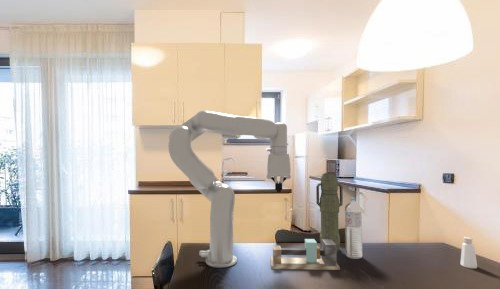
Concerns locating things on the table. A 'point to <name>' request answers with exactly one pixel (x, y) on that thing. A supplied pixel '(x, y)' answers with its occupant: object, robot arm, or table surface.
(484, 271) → the table surface
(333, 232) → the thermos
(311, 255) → the mint green boxy block
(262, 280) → the table surface
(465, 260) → the salt shaker
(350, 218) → the water bottle
